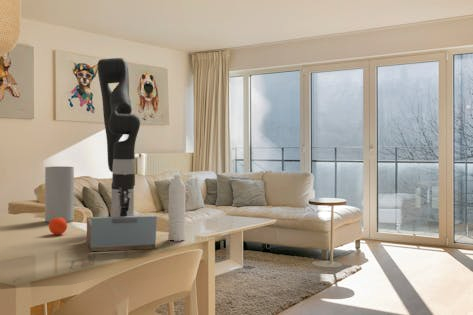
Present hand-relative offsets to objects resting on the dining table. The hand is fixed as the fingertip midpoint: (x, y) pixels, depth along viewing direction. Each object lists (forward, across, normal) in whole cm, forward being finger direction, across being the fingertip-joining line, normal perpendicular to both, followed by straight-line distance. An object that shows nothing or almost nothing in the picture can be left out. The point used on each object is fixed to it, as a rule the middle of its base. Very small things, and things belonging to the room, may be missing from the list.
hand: (123, 223), depth 190 cm
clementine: (+10, -39, -21) cm, 46 cm away
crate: (+10, -10, 0) cm, 14 cm away
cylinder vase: (+10, -76, -20) cm, 80 cm away
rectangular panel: (+8, +1, 0) cm, 8 cm away
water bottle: (+10, -16, +23) cm, 29 cm away
